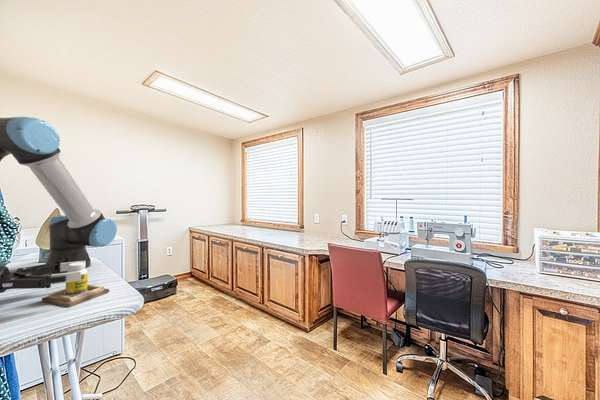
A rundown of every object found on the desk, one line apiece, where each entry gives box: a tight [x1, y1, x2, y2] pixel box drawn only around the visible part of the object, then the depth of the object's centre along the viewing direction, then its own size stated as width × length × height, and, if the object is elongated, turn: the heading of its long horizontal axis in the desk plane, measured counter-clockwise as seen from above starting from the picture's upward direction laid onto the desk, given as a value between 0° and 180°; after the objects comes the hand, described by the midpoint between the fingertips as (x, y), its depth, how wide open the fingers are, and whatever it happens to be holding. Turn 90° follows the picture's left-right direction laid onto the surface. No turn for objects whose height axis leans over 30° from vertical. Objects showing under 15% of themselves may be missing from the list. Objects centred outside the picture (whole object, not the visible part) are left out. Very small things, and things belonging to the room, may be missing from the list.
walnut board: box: [41, 283, 110, 308], centre depth 85 cm, size 12×12×2 cm
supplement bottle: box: [65, 262, 89, 296], centre depth 85 cm, size 5×5×10 cm
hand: (83, 269), depth 86 cm, fingers open, 13 cm apart
